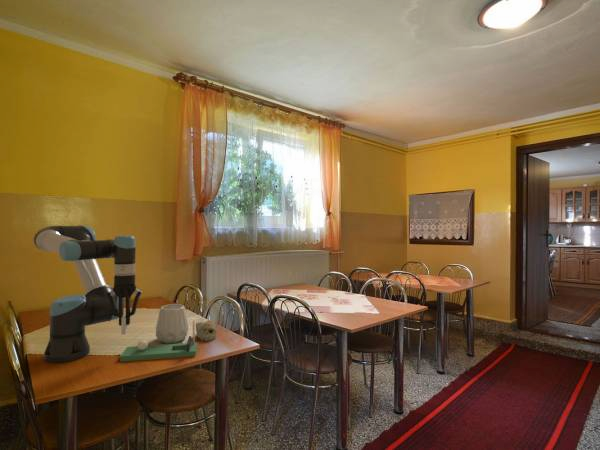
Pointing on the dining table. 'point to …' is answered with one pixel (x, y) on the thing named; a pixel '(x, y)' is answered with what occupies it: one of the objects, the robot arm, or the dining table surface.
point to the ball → (142, 345)
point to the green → (161, 350)
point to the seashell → (206, 331)
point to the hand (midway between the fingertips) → (124, 333)
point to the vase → (172, 324)
